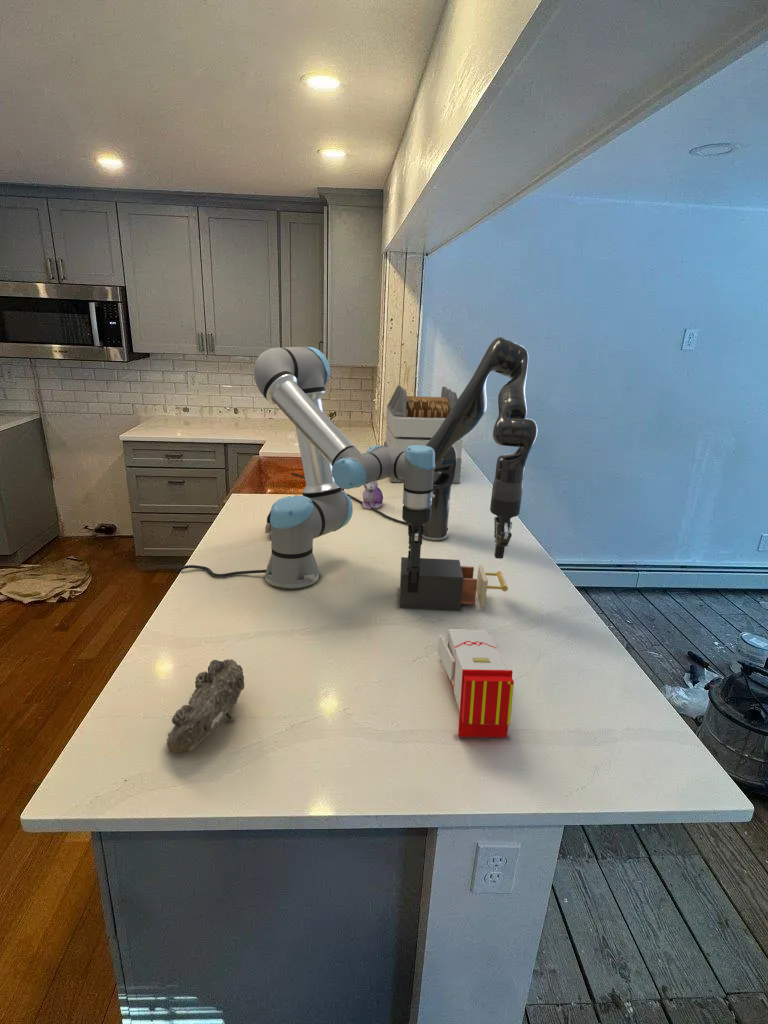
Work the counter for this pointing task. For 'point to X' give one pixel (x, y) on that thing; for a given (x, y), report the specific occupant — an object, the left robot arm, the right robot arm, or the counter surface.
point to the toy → (478, 682)
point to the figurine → (372, 496)
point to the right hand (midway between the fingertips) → (498, 557)
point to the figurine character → (268, 524)
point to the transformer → (418, 421)
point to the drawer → (478, 585)
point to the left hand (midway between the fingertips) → (412, 581)
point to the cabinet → (433, 585)
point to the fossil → (206, 705)
